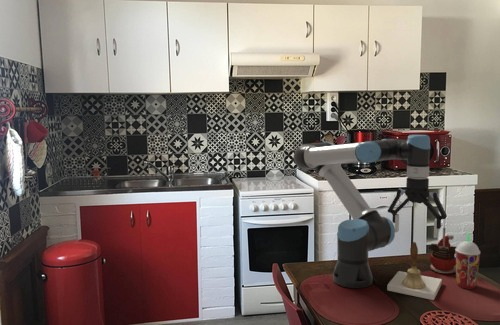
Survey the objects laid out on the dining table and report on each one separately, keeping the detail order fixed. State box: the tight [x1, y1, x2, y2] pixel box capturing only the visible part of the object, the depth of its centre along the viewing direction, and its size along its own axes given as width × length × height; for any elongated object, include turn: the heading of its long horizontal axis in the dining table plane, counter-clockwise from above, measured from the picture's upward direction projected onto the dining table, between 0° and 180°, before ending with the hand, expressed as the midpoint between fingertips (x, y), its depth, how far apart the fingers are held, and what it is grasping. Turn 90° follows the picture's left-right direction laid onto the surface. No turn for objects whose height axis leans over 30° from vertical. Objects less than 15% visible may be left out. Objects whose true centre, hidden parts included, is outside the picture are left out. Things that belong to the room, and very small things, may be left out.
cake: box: [428, 227, 457, 274], centre depth 172 cm, size 11×9×18 cm
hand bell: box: [402, 241, 426, 289], centre depth 154 cm, size 8×8×16 cm
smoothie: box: [455, 233, 481, 290], centre depth 157 cm, size 8×8×20 cm
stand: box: [386, 270, 443, 301], centre depth 157 cm, size 16×16×2 cm
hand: (415, 234), depth 155 cm, fingers open, 13 cm apart
